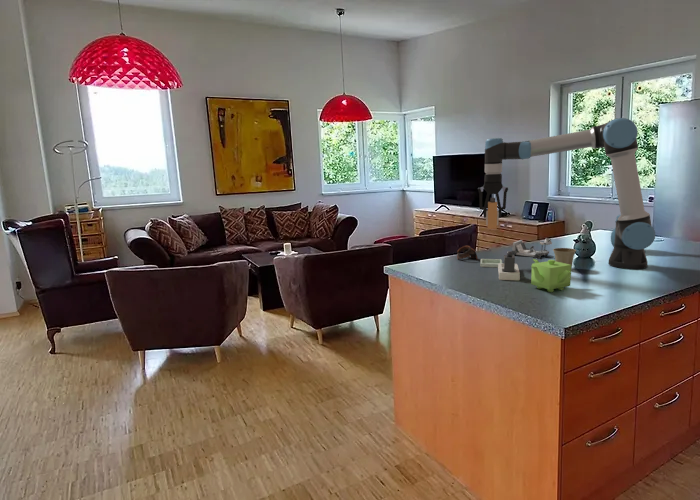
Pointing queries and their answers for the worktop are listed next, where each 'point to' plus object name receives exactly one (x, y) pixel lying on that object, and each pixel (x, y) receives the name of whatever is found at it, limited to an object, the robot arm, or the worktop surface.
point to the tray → (490, 262)
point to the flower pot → (564, 255)
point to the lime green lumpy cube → (550, 275)
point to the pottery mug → (466, 252)
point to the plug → (492, 214)
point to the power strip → (508, 268)
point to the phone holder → (521, 249)
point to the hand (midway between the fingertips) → (492, 224)
